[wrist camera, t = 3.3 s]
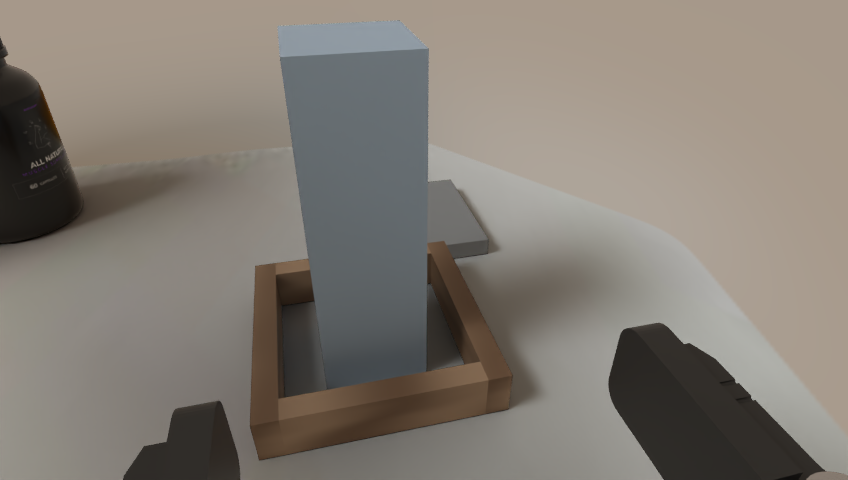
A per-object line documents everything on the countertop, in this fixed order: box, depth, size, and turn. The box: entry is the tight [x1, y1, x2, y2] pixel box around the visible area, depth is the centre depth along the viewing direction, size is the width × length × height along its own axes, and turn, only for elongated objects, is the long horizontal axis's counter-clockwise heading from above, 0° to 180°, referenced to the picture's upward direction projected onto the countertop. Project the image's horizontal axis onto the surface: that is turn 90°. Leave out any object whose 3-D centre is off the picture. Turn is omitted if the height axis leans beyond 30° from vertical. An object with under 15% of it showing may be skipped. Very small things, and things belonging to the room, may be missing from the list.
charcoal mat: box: [427, 180, 489, 258], centre depth 34 cm, size 8×8×1 cm
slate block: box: [278, 20, 429, 390], centre depth 21 cm, size 4×4×14 cm
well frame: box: [250, 241, 513, 460], centre depth 25 cm, size 10×10×2 cm
